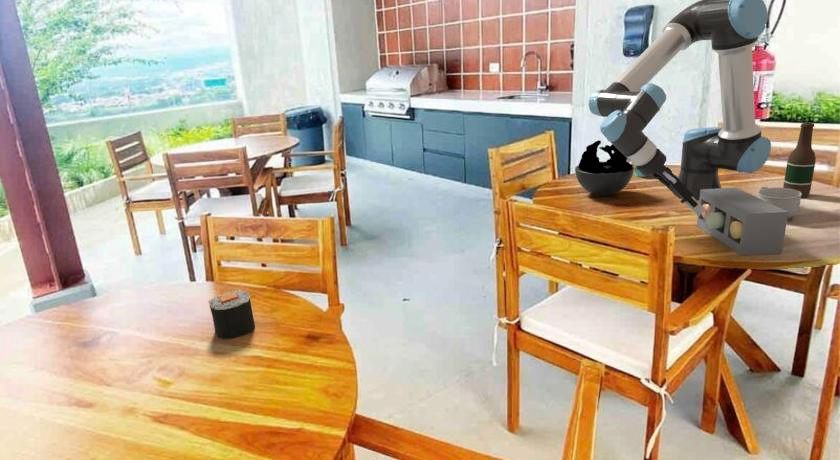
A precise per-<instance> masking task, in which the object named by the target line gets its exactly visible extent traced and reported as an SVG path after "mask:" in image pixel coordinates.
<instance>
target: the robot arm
mask: <svg viewBox="0 0 840 460" xmlns="http://www.w3.org/2000/svg"><path fill="white" fill-rule="evenodd" d="M767 9H768V8H767V5H766V3H765V1H764V0H698V1H696V2H694V3H692V4H691V5H689V6H687V7H686V8H684V9H683V10H681V11H680V12H679V13H678V14H677V15H675V16H674V17H673V18H672V19H671V20H670V21H669V22H668V23H666V24H665V25H664V26H663V28H662V30H661V34H660V35H659V36H658V37H657V38H656V39H655V40H653V42H652V43H651V44H650V45H649V46H647V48H646V49H645V50H644V51H643V52H642V53H641V54H640V55H639V56H638V57H637V58H636V59H635V60H634V61H633V62H632V63H631V64H630V65H629V66H628V67H627V68H626V69H625V70H624V71H623V72H622V73H621V74H620V75H618V76H617V78H616V79H615V80H614V81H613V82H612V83H611V84H610V85H609V86H608V87H607V88H606V89H599V90H595V91H594V92H593V93H592V94H591V95H590V97H589V98H588V108H589V111H590V113H591V114H593V115H595V116H599V117H602V118H604V119H603V120H602V121H601V124H600V126H599V131H600V133H601V134H602V135H603V136H604V137H605V138H606V140H607V142H610V143H611V145H612V144H613V145H614V146H615V147H616V148H617V149H618V150H619V151H620V152H621V153H622V154H623V155H624V156H625V157H626V158H628V159H627V160H626V161H627V162H629V163H630V164H631V163H632V164H633V165H634V166H636V168H637V169H638V170H639V171H640V172H641V173H642V174H643V175H645V176H647V177H649V176H652V177H654V178H655V179H656V180H658V181H659V182H660V183H661V184H662V185H664V186H665V187H666V188H668V190H669V191H671V193H672V194H673V195H674V196H675V197H677V198H678V199H680V203H681V204H685V205H686V207H687V208H688V209H690V210H691V212H693V214H695V215H696V217H698V216H699V215H700V214H702V213H703V212H704V211H705V210H706V209H705V208H704V207H703V206H702V205H701V204H700V203H699V201H698V200H699V198H700V189H718V188H722V185H721V181H720V176H719V169H721V170H726V171H732V172H736V173H739V174H742V173H745V174H754V173H756V172H758V171H759V170H760V169H762V168H763V166H765V164H766V162H767V161H768V159H769V157H770V154H771V151H772V143H771V140H770V139H769V138H768V137H766V136H762V127H761V126H760V125H758V124H756V112H755V111H756V110H755V89H754V88H755V87H754V83H755V82H754V64H753V61H754V60H753V47H754V45H756V43H757V42H758V41H759V36H761V35H762V34H763V33H764V31H765V29H766V25H767V23H768V10H767ZM700 41H701V42H702V41H711V42H710V43H711V50H712V51H713V52H716V54H717V55H718V71H719V72H718V73H719V83H720V86H719V87H720V99H721V113H722V115H721V116H722V117H721V118H722V127H721V126H712V127H711V126H710V127H709V126H707V127H699V128H697V127H696V128H692V129H688V130H686V131H685V133H684V135H683V141H682V146H681V147H682V148H681V150H682V151H681V162H680V171H679V174H678V176H677V175H675V174H674V173H673V171H672V169H670V167H668V166H666V165H665V164H666V162H667V156H666V155H665V154H664V152H663V151H661V149H660V148H657V145H656V144H655V143H654V142H653V141H652V140H651V139H650V138H649V137H648V136H647V135H645V133H644V132H643V131H644V129H645V128H646V127H647V126H648V124H649V123H650V122H651V121H652V120H653V118H654V117H655V116H656V115H657V114H658V113H659V112H660V110H661V108H662V107H663V106H664V104H665V102H666V100H667V95H666V92H665V90H664V89H663V88H662V87H660V86H659V85H657V84H656V83H652V82H651V81H652V80H653V78H655V77H656V75H657V74H658V73H660V72H661V70H662V69H663V68H664V67H665V66H666V65H667V64H668V63H669V62H670V61H671V60H672V59H673V58H674V57H676V56H677V54H678V53H679V52H680V51H684V50H687V49H688V48H689V47H690V46H691V45H693V44H694V43H697V42H700ZM650 82H651V83H650Z"/></svg>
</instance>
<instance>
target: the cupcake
mask: <svg viewBox="0 0 840 460" xmlns="http://www.w3.org/2000/svg"><path fill="white" fill-rule="evenodd" d="M630 164H632V163H631V162H630ZM632 165H633V164H632ZM633 168H634V175H635V176H636V177H638V178H646V177H648V176H645V175H643V174H642V173H641V172H640V171H639V170H638V169H637V168H636V166H634V165H633Z"/></svg>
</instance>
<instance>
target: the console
mask: <svg viewBox="0 0 840 460" xmlns="http://www.w3.org/2000/svg"><path fill="white" fill-rule="evenodd" d="M698 200H699V201H698V202H699V203H700V204H701V205H702V206H703V205H704V204H711V212H710V213H714V212H724V213H725V214H726V220H725V228H718V229H709V228H708V227H707V225H706V219H704V218H703V217H702V214H700V215H699V216H696V217H697V219H696V227H698V228H699V229H701V230H702V231H704V232H706V233H707V234H709V235H710V236H711V237H713V238H714V239H716V240H717V241H719V242H720V243H722V244H723V245H724V246H726V247H727V248H728V249H730V250H732V251H733V252H735V253H736V254H737V255H740V256H741V257H742V256H761V255H777V254H778V255H782V254H783V247H784V242H785V235H786V229H787V224H788V219H787V218H788V211H785V210H783V209H781V208H779V207H777V206H775V205H773V204H770V203H768V202H766V201H764V200H762V199H760V198H758V196H755V195H753V194H752V193H748V192H746V191H744V190H743V189H740V188H738V187H723V188H722V187H721V188H718V189H700V198H699V199H698ZM733 221H741V222H743V226H742V234H741V238H733V237H732V236H731V233H730V225H731V223H732V222H733Z"/></svg>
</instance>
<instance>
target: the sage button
mask: <svg viewBox="0 0 840 460" xmlns="http://www.w3.org/2000/svg"><path fill="white" fill-rule="evenodd" d="M725 220H726V214H725V213H724V212H714V213H708V214H707V216H706V225H707V227H708V228H709V229H718V228H725Z"/></svg>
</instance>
